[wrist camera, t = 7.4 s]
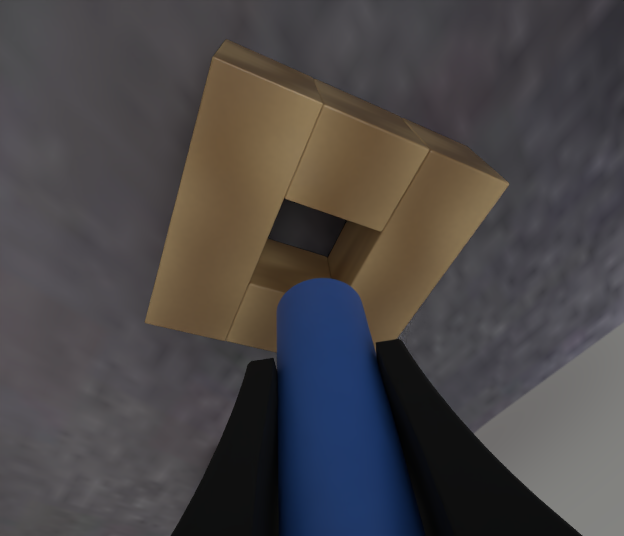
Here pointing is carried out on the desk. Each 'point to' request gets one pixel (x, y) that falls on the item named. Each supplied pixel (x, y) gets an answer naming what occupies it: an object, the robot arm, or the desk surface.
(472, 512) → the robot arm
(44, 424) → the desk surface
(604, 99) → the desk surface
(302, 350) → the handle
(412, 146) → the holder
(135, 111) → the desk surface
